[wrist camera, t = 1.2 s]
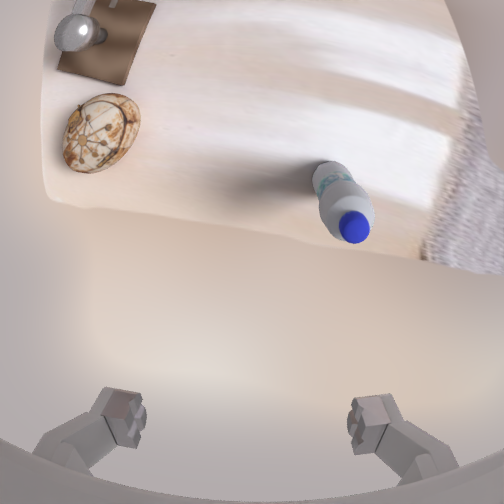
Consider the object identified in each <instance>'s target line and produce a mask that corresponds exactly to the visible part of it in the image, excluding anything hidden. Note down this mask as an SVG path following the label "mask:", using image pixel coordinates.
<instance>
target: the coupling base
mask: <svg viewBox="0 0 504 504" xmlns="http://www.w3.org/2000/svg"><path fill="white" fill-rule="evenodd" d="M155 7H156V4H154V3H150V2H144V1H138V0H96V1H95V3H94V6H93V8H92V10H91V13H90V15H89V16H90V17H93V18H95V19H96V20H97V21H98V22H99V25H100V33H99V36H98V39H97V40H96V42H95V43H94V45H93V46H92V47H90V48H89V49H87V50H85V51H81V52H77V51H62V54H61V58H60V61H59V64H58V68H57V70H62V71H66V72H71V73H75V74H79V75H84V76H88V77H92V78H96V79H99V80H103V81H107V82H111V83H114V84H118V85H125V82H126V79H127V77H128V74H129V71H130V68H131V65H132V63H133V60H134V57H135V55H136V52H137V49H138V47H139V44H140V42H141V39H142V37H143V34H144V32H145V30H146V27H147V25H148V23H149V20H150V18H151V16H152V14H153V12H154V9H155Z"/></svg>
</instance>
